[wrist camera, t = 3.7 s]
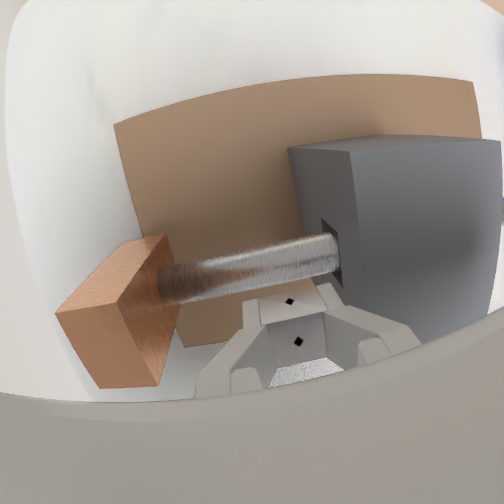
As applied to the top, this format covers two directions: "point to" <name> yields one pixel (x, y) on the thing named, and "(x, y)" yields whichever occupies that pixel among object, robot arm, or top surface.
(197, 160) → the bearing stand
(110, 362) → the shaft
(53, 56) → the top surface
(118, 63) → the top surface
